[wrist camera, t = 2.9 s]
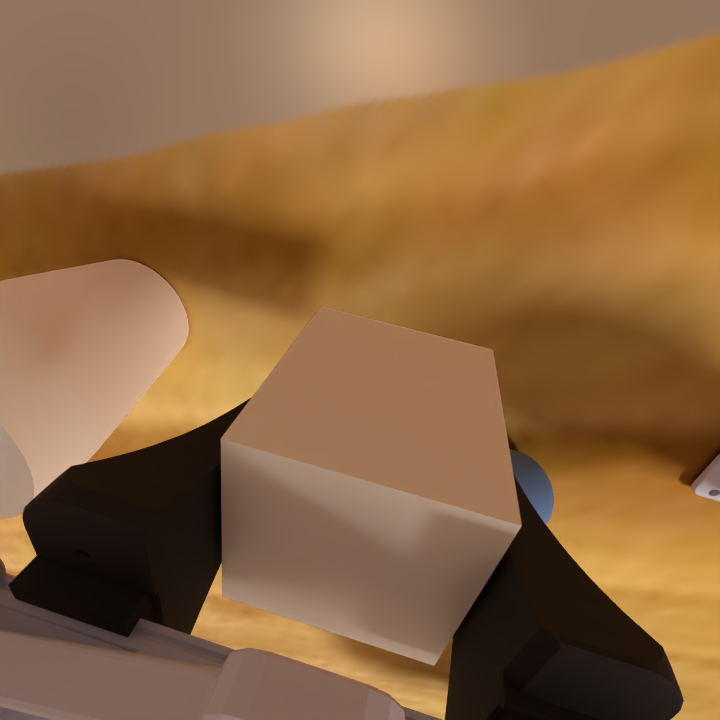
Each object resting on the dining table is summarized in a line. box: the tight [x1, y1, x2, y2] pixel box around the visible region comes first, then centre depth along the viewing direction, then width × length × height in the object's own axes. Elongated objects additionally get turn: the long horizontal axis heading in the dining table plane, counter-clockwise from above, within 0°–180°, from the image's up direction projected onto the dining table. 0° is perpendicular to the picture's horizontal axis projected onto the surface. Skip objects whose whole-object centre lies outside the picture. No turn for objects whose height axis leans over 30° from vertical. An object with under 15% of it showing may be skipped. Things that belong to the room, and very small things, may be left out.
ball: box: [509, 449, 554, 524], centre depth 23 cm, size 5×5×5 cm
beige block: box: [221, 306, 522, 666], centre depth 12 cm, size 6×6×7 cm
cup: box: [0, 259, 189, 518], centre depth 20 cm, size 9×9×12 cm
